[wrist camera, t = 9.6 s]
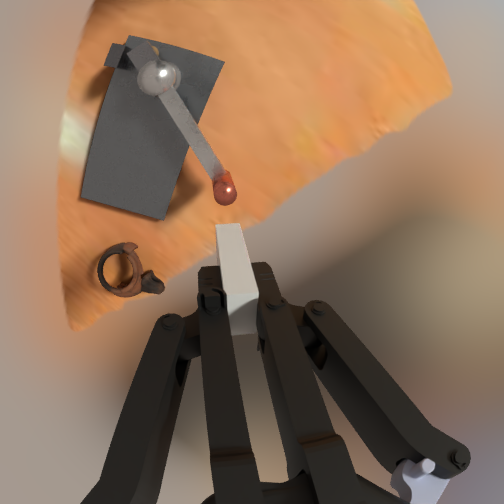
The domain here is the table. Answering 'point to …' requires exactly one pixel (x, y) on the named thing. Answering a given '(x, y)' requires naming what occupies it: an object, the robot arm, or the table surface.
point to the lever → (181, 116)
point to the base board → (144, 131)
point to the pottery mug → (136, 285)
